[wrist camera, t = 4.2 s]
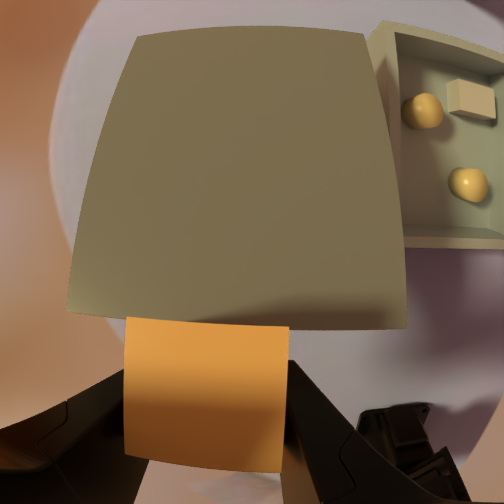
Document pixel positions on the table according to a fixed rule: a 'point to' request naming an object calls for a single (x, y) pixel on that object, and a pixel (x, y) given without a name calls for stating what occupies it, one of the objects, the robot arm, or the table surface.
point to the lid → (236, 229)
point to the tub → (443, 135)
